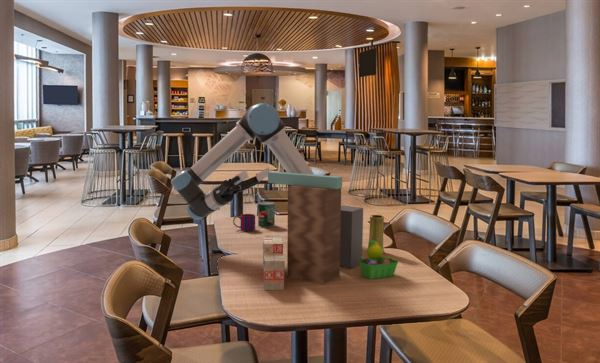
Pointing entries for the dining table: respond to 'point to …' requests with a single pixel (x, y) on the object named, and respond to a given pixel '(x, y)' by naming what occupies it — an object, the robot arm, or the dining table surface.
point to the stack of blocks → (273, 263)
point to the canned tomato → (266, 214)
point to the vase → (376, 229)
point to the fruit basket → (377, 262)
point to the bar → (305, 180)
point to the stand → (313, 233)
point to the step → (351, 236)
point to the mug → (246, 222)
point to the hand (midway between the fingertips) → (258, 171)
